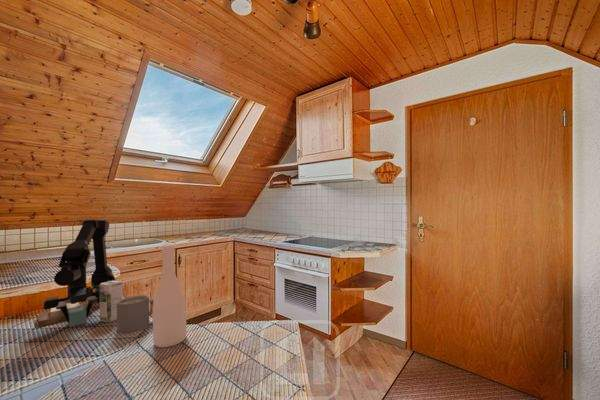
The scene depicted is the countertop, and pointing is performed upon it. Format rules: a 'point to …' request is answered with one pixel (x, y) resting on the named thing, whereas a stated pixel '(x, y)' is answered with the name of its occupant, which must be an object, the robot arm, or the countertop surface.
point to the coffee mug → (133, 313)
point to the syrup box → (110, 299)
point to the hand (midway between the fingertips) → (77, 320)
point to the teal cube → (77, 316)
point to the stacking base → (54, 319)
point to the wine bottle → (169, 305)
